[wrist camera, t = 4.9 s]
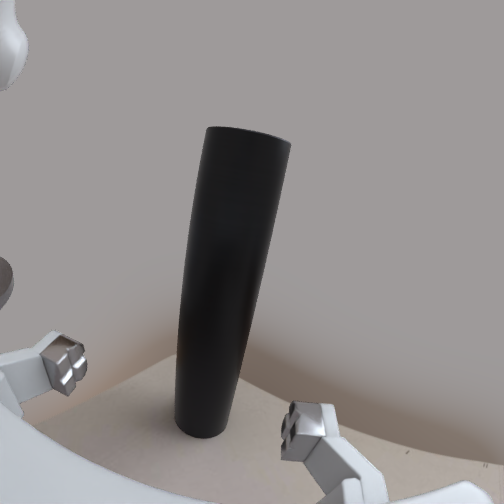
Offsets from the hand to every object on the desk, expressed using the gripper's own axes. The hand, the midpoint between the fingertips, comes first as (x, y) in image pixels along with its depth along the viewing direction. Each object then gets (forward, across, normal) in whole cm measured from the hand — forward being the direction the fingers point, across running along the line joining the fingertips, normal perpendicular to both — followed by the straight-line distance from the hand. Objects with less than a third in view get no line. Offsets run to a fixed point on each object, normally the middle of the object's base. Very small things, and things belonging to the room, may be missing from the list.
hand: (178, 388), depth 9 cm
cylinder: (+8, 0, +13) cm, 15 cm away
